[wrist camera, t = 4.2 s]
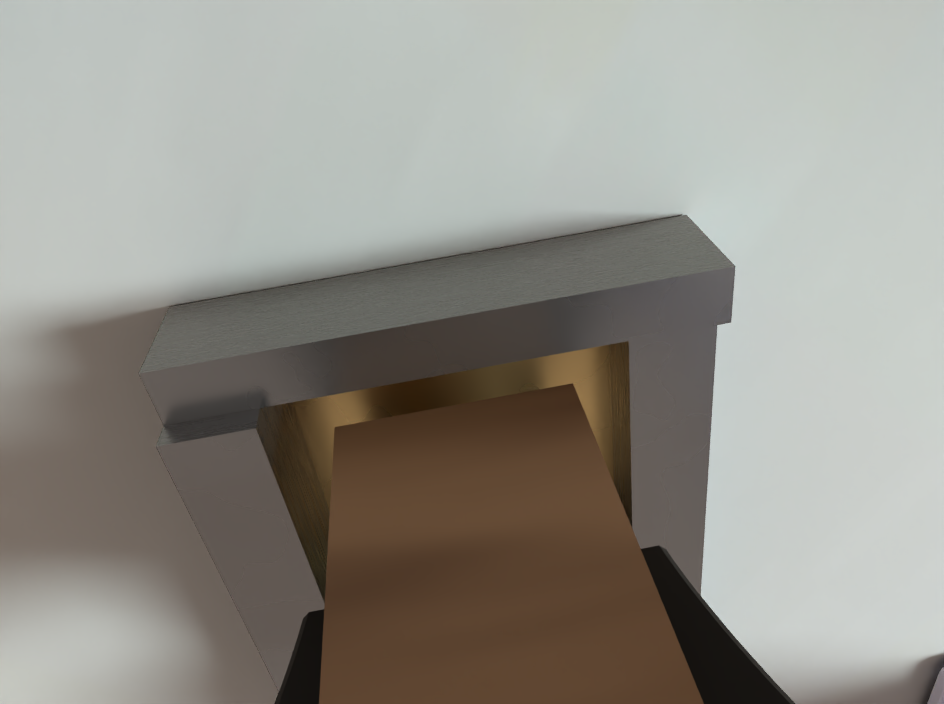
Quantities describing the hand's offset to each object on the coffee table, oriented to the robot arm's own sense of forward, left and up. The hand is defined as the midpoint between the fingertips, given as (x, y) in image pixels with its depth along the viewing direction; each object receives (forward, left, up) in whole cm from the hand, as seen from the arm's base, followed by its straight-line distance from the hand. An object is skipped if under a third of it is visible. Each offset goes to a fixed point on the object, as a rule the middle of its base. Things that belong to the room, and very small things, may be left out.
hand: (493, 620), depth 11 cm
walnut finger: (0, 0, -3) cm, 3 cm away
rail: (-4, 0, -4) cm, 6 cm away
